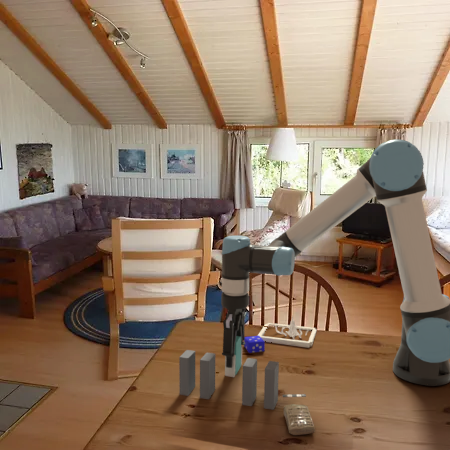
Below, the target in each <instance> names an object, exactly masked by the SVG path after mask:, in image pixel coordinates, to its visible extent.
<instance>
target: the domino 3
mask: <svg viewBox="0 0 450 450" xmlns="http://www.w3.org/2000/svg"><path fill="white" fill-rule="evenodd" d="M241 346H242V345H241V336H236V343H235V355H236V358H235V376H237V375H238V372H239V371H240V369H241V367H242V365H241Z"/></svg>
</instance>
